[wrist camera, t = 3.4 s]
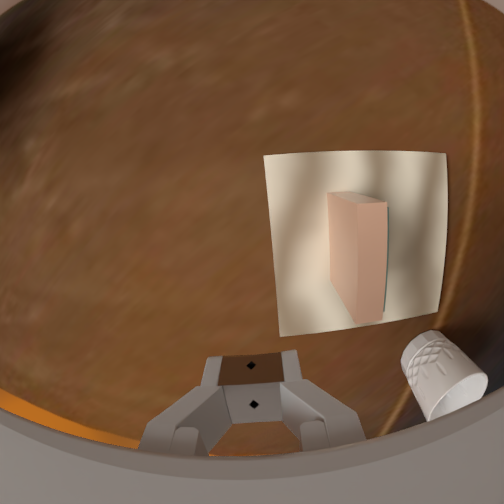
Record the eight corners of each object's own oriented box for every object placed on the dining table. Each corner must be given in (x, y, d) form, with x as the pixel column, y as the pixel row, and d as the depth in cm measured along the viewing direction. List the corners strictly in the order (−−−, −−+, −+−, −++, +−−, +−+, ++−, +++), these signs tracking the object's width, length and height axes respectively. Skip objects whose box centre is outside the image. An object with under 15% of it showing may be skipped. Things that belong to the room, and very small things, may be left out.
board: (439, 153, 23) (445, 153, 22) (432, 307, 28) (437, 311, 26) (263, 156, 24) (263, 155, 23) (279, 330, 28) (280, 336, 27)
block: (351, 191, 23) (391, 201, 16) (353, 277, 25) (386, 319, 18) (326, 192, 23) (357, 203, 16) (330, 280, 26) (355, 324, 18)
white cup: (438, 313, 28) (484, 359, 18) (452, 350, 29) (489, 394, 20) (387, 353, 29) (420, 410, 20) (406, 385, 31) (435, 437, 21)
